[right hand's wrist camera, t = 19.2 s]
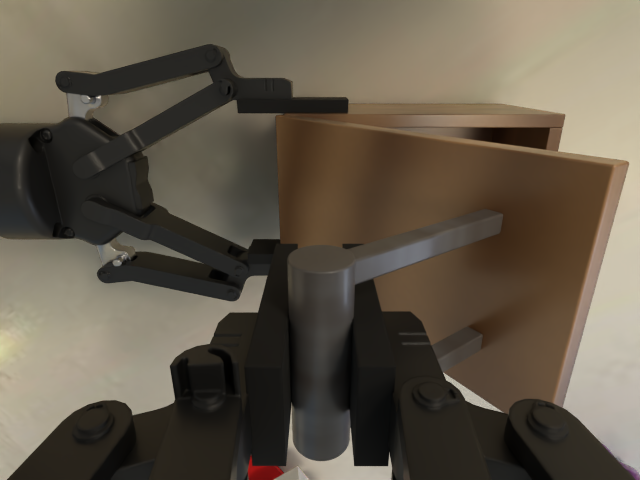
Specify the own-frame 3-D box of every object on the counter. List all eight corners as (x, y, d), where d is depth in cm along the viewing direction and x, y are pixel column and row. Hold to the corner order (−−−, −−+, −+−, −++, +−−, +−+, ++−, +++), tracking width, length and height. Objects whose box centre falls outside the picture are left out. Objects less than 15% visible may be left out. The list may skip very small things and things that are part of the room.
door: (630, 161, 11) (396, 225, 6) (557, 427, 14) (370, 599, 10) (289, 114, 24) (128, 124, 19) (293, 261, 27) (157, 300, 22)
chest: (502, 103, 32) (565, 114, 24) (484, 216, 36) (535, 260, 27) (293, 103, 32) (283, 113, 24) (295, 215, 36) (287, 259, 27)
